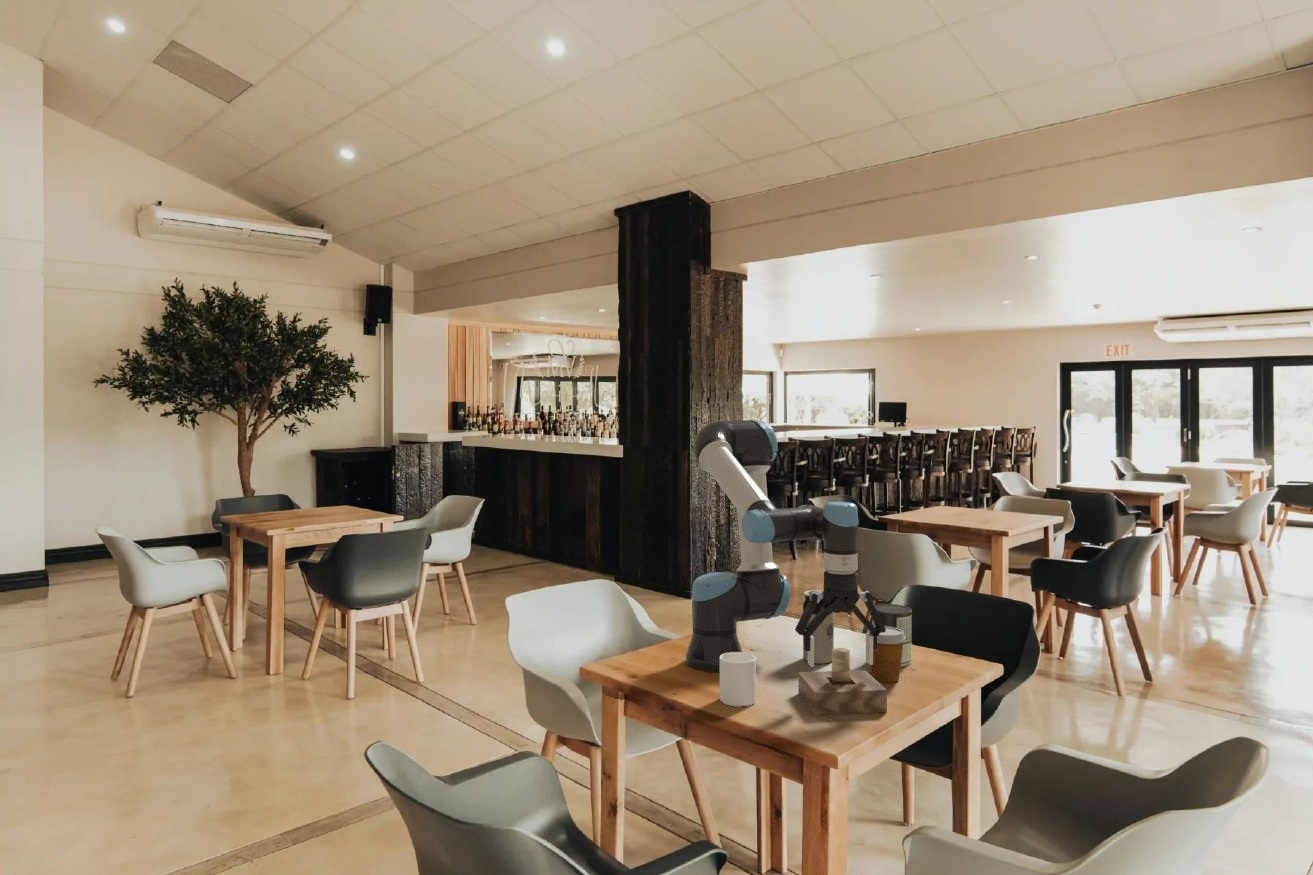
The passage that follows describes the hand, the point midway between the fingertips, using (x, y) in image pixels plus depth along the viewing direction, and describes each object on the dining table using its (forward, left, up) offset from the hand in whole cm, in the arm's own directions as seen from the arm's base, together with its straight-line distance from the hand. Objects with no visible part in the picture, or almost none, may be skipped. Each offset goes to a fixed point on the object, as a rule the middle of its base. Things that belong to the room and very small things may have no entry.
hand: (840, 663), depth 181 cm
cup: (-22, +5, -9) cm, 24 cm away
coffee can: (+23, +29, -9) cm, 38 cm away
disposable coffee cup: (+16, +15, -9) cm, 24 cm away
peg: (0, 0, -9) cm, 9 cm away
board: (0, 0, -9) cm, 9 cm away
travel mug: (+4, +32, -9) cm, 33 cm away
